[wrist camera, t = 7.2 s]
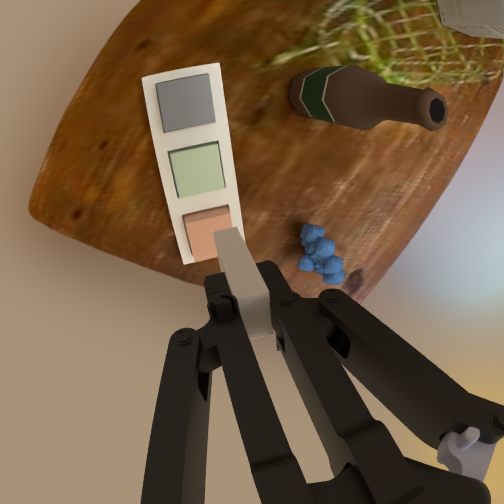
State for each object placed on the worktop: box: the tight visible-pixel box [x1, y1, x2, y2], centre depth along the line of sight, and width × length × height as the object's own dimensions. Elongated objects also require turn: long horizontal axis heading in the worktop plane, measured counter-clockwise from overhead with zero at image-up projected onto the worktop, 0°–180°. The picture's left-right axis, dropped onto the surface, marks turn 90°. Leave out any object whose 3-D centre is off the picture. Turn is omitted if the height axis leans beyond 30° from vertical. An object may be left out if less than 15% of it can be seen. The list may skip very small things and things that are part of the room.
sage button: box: [170, 141, 225, 198], centre depth 36 cm, size 6×6×3 cm
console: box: [142, 63, 245, 264], centre depth 37 cm, size 27×10×3 cm, turn 9°
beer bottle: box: [288, 65, 449, 131], centre depth 27 cm, size 8×8×24 cm
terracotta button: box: [184, 205, 232, 262], centre depth 40 cm, size 6×6×3 cm
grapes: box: [298, 223, 345, 285], centre depth 44 cm, size 12×7×12 cm, turn 27°
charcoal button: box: [157, 74, 216, 132], centre depth 30 cm, size 6×6×3 cm
